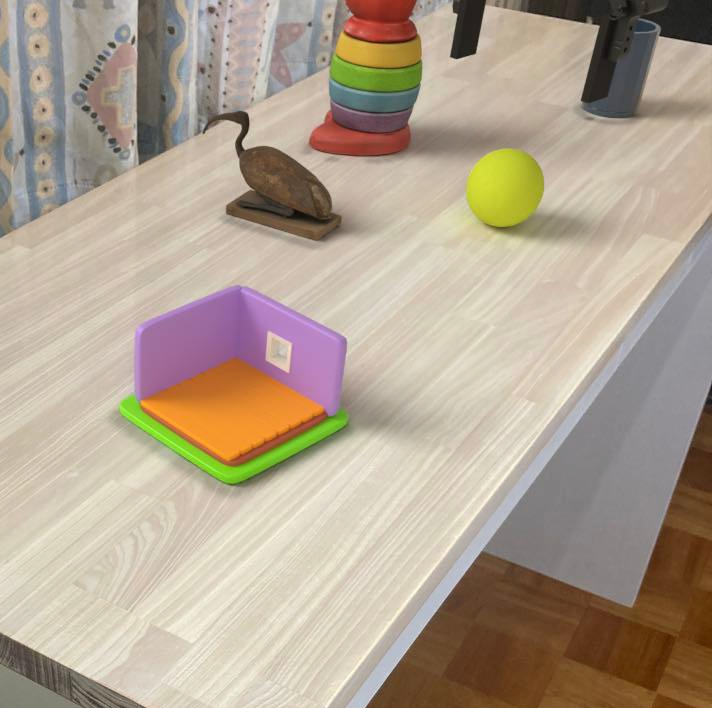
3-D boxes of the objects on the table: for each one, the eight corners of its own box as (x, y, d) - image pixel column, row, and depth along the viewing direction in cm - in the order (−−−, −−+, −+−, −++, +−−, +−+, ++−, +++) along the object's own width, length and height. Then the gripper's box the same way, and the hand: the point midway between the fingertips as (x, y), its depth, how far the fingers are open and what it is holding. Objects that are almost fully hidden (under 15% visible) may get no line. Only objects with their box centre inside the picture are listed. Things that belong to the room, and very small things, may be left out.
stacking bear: (329, 115, 126) (349, -63, 114) (420, 129, 123) (449, -52, 112) (304, 149, 118) (321, -38, 107) (400, 164, 115) (429, -26, 104)
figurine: (187, 202, 107) (189, 109, 102) (212, 187, 110) (217, 95, 104) (317, 241, 101) (328, 144, 96) (341, 224, 104) (353, 129, 98)
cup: (647, 116, 128) (671, 32, 122) (595, 119, 127) (617, 33, 121) (621, 98, 132) (643, 15, 127) (571, 100, 131) (591, 17, 126)
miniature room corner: (235, 354, 86) (240, 271, 81) (355, 422, 79) (368, 335, 74) (111, 410, 79) (110, 323, 75) (230, 490, 73) (236, 399, 68)
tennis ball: (547, 237, 103) (565, 163, 98) (476, 241, 102) (491, 167, 97) (517, 206, 108) (533, 135, 104) (449, 210, 107) (462, 138, 103)
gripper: (427, -239, 88) (386, 46, 102) (721, -197, 74) (628, 129, 88) (487, -243, 92) (440, 32, 106) (779, -204, 78) (681, 109, 91)
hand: (525, 77), depth 97 cm, fingers open, 13 cm apart
